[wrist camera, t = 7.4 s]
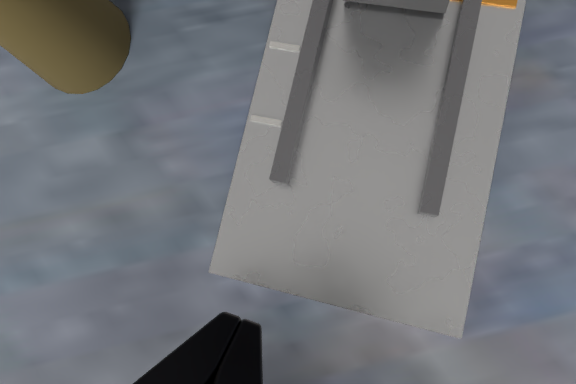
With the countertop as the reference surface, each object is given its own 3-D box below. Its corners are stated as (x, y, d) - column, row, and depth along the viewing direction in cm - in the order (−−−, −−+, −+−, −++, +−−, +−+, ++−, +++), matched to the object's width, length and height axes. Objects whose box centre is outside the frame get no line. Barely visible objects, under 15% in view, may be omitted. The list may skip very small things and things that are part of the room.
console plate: (456, 335, 20) (466, 343, 18) (215, 271, 23) (201, 273, 21) (532, -60, 22) (548, -91, 20) (303, -82, 25) (298, -110, 23)
